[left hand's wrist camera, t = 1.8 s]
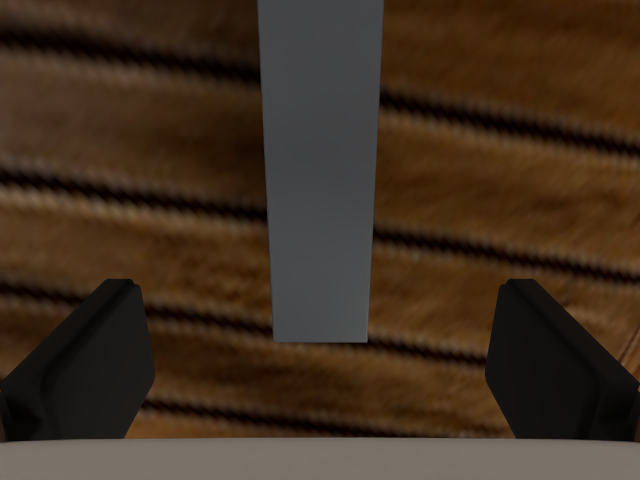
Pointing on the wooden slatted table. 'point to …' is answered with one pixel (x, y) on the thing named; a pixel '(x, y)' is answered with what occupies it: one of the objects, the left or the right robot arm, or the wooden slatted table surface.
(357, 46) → the post
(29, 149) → the wooden slatted table surface
